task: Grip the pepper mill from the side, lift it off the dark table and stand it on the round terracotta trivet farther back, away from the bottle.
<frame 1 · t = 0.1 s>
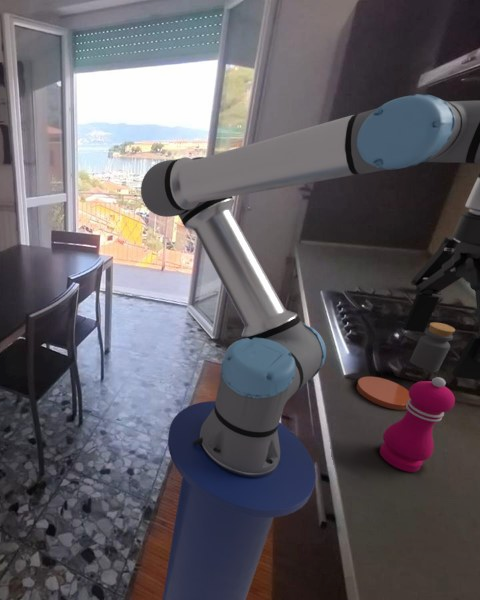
hand: (436, 351, 55), 29 cm above the worktop, tool pointing down, fingers open, 13 cm apart
bottle: (418, 375, 96), on the worktop
pepper mill: (398, 459, 71), on the worktop
egg: (426, 293, 145), on the worktop
trivet: (383, 394, 89), on the worktop
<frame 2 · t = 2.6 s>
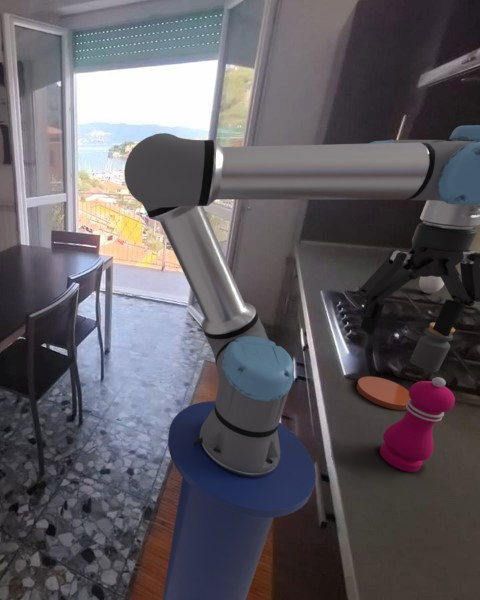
hand: (403, 331, 70), 24 cm above the worktop, tool pointing down, fingers open, 13 cm apart
nothing on the worktop moved.
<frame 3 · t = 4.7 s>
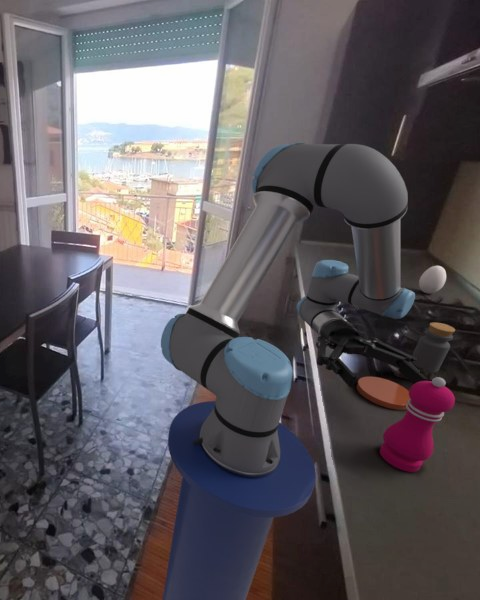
hand: (388, 383, 75), 12 cm above the worktop, tool horizontal, fingers open, 13 cm apart
nothing on the worktop moved.
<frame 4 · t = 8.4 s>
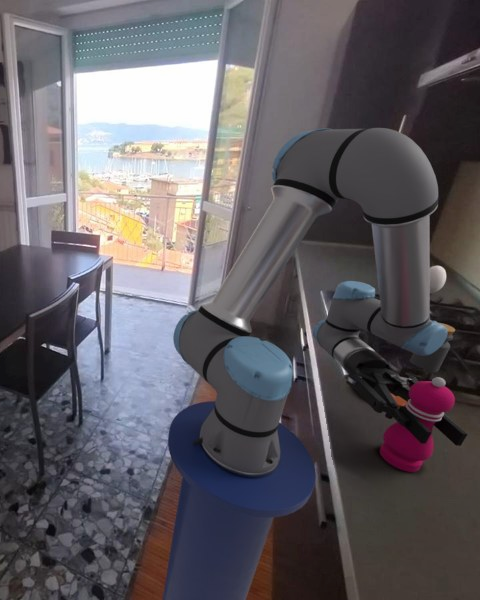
hand: (443, 438, 62), 11 cm above the worktop, tool horizontal, fingers closed on pepper mill, 5 cm apart
pepper mill: (398, 459, 71), on the worktop, touching gripper
everything else where it was.
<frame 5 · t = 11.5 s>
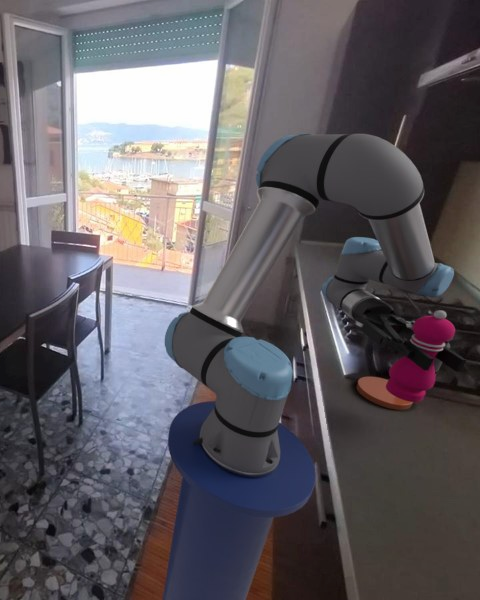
hand: (444, 365, 68), 19 cm above the worktop, tool horizontal, fingers closed on pepper mill, 5 cm apart
pepper mill: (403, 393, 77), point 8 cm above the worktop, touching gripper
everything else where it was.
when the fingers open (12 cm above the worktop, at t = 14.9 s): pepper mill stays where it is, resting on trivet.
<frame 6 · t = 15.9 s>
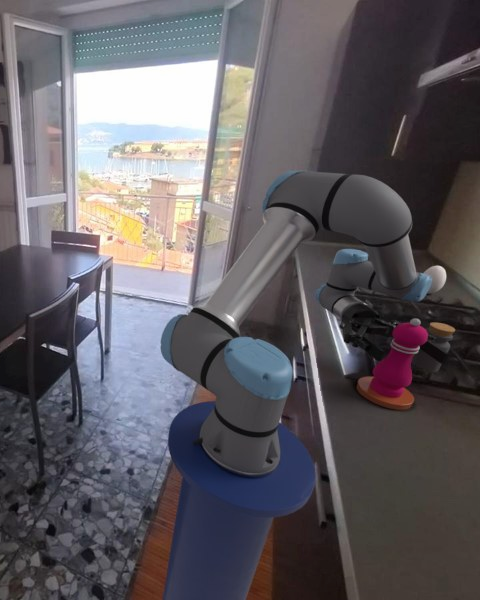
hand: (413, 357, 81), 13 cm above the worktop, tool horizontal, fingers open, 13 cm apart
pepper mill: (385, 390, 88), point 1 cm above the worktop, touching trivet
everything else where it was.
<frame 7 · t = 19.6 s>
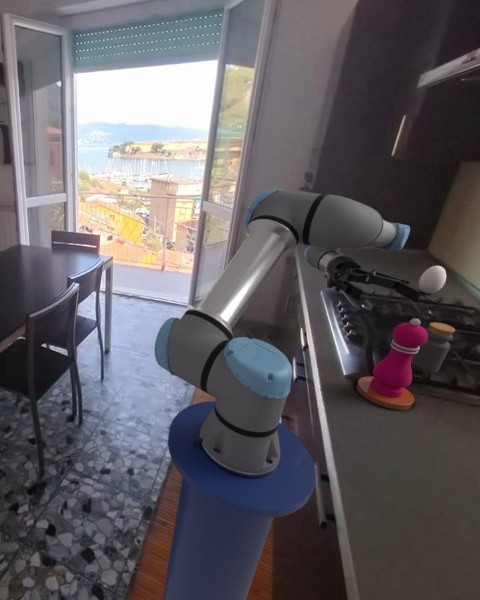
hand: (388, 296, 88), 23 cm above the worktop, tool horizontal, fingers open, 13 cm apart
nothing on the worktop moved.
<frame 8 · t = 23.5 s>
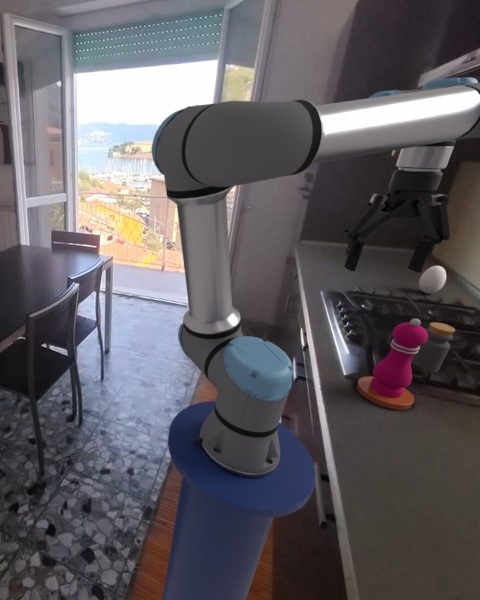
hand: (381, 269, 80), 32 cm above the worktop, tool pointing down, fingers open, 13 cm apart
nothing on the worktop moved.
at the end: pepper mill inside the target area on the trivet (0.0 cm from its centre), point 1.3 cm above the trivet's base; pepper mill tilted 0°; the gripper is holding nothing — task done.
